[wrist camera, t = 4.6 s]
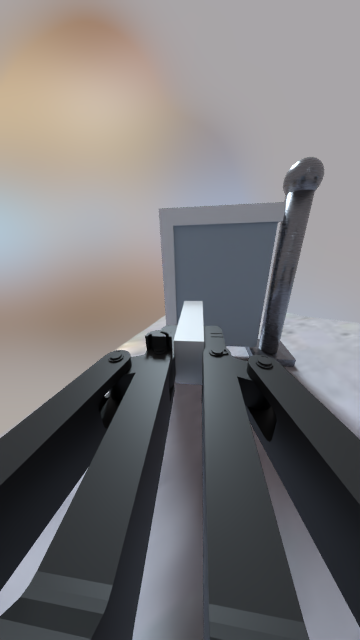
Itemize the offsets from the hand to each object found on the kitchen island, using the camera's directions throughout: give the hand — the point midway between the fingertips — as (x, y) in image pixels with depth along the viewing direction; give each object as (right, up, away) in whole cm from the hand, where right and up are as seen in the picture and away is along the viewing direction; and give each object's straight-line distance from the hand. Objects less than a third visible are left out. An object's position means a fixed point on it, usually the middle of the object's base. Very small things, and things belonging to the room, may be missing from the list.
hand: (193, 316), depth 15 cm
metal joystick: (+11, -5, +10) cm, 16 cm away
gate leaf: (+3, -4, +10) cm, 11 cm away
